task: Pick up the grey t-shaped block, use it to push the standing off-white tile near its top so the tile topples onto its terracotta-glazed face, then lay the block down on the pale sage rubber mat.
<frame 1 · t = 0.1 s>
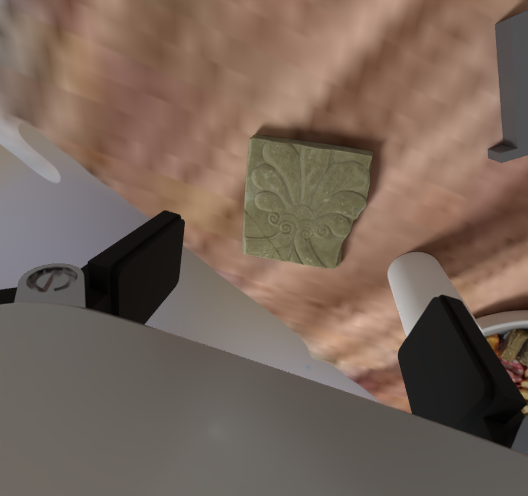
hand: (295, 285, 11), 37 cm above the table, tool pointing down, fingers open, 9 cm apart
decorative tile: (303, 204, 49), on the table
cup: (413, 272, 50), on the table
grey t-shaped block: (510, 84, 36), on the table
bowl: (505, 365, 55), on the table
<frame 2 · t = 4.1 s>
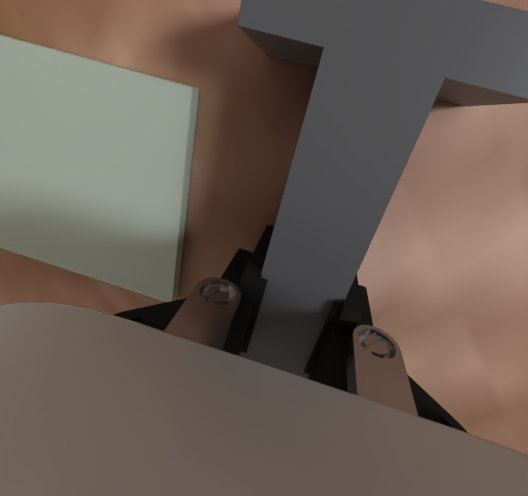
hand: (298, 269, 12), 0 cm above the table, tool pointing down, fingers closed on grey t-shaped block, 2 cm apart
grey t-shaped block: (297, 273, 12), on the table, touching gripper
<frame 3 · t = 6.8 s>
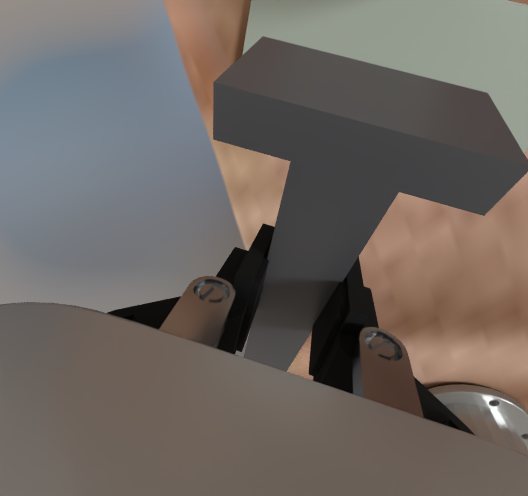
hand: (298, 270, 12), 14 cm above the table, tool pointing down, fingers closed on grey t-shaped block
grey t-shaped block: (299, 255, 14), point 12 cm above the table, tilted 22°, touching gripper
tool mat: (390, 72, 19), on the table
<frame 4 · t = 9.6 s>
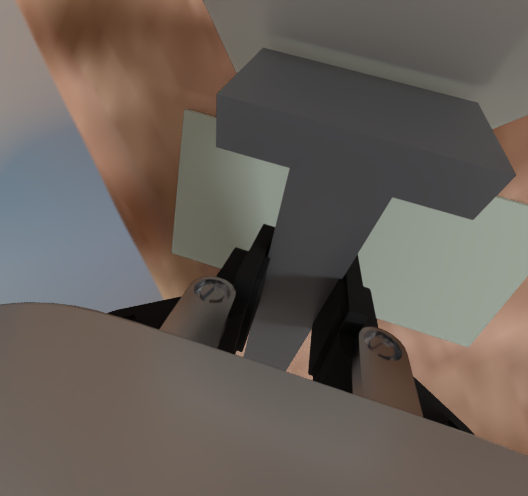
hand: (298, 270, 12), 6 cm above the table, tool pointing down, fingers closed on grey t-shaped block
grey t-shaped block: (298, 257, 14), point 4 cm above the table, tilted 21°, touching gripper
tile: (350, 94, 14), on the table, tilted 19°
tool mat: (338, 234, 17), on the table
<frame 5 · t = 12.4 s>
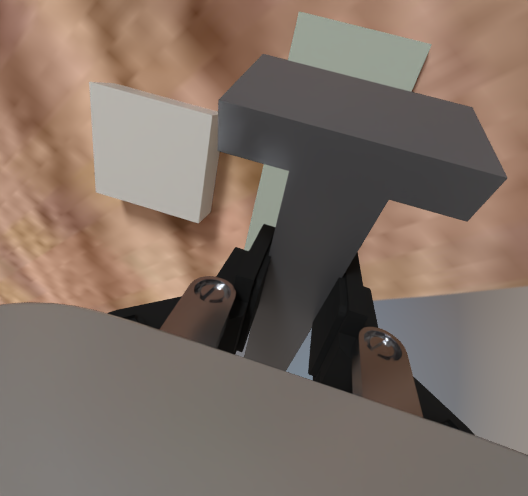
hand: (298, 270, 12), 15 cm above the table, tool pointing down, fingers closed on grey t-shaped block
grey t-shaped block: (298, 258, 14), point 13 cm above the table, tilted 20°, touching gripper
tile: (211, 170, 25), point 1 cm above the table, tilted 90°
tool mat: (317, 171, 25), on the table
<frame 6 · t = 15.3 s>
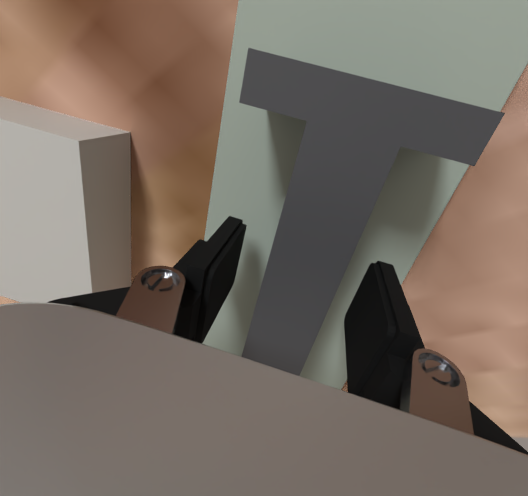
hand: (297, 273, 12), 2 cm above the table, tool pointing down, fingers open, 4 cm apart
grey t-shaped block: (293, 280, 14), point 1 cm above the table, touching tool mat
tile: (111, 235, 14), point 1 cm above the table, tilted 90°
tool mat: (305, 239, 13), on the table
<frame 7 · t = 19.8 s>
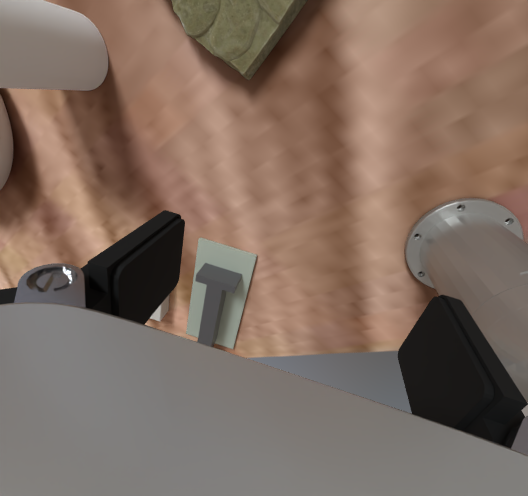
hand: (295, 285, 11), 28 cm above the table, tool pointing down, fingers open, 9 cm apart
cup: (79, 52, 36), on the table
grey t-shaped block: (215, 308, 49), point 1 cm above the table, touching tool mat
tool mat: (218, 297, 49), on the table
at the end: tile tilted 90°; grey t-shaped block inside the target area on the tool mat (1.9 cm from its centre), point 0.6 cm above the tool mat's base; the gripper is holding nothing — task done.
